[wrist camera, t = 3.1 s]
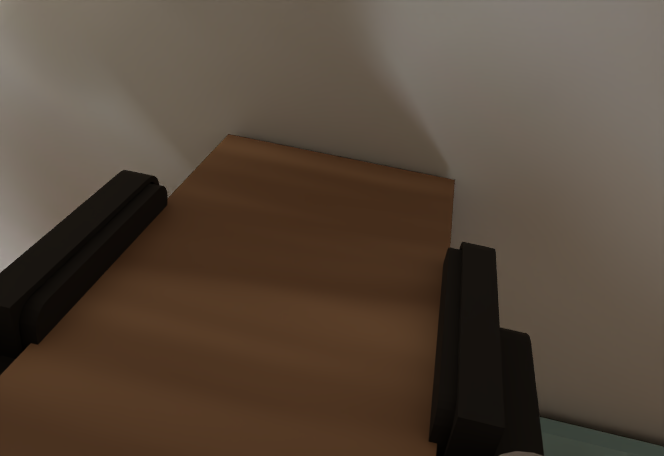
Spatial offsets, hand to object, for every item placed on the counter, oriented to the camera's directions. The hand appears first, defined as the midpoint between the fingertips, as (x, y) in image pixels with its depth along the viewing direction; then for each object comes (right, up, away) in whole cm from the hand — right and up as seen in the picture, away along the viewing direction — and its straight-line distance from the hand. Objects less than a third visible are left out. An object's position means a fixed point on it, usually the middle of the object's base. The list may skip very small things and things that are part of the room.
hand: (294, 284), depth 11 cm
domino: (+1, +2, +3) cm, 4 cm away
